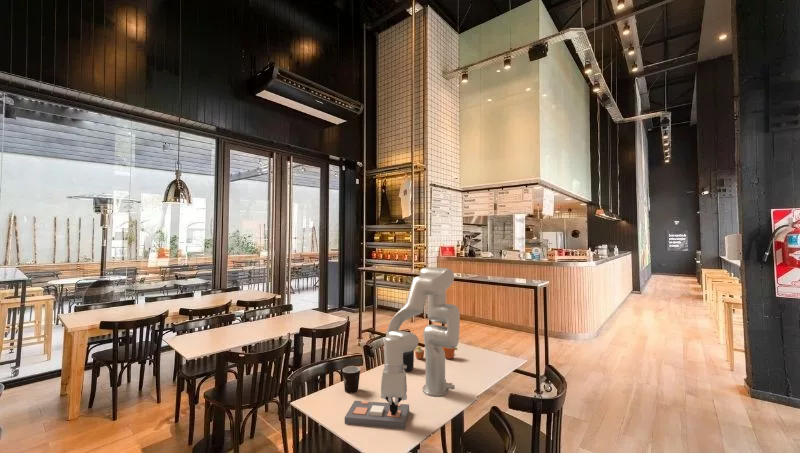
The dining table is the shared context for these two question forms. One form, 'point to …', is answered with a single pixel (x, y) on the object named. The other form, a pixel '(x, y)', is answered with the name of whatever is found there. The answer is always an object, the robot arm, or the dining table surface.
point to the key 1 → (360, 411)
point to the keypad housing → (377, 420)
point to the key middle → (377, 411)
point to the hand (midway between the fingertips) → (393, 413)
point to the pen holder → (408, 360)
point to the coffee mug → (351, 378)
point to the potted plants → (448, 351)
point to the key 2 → (395, 414)
